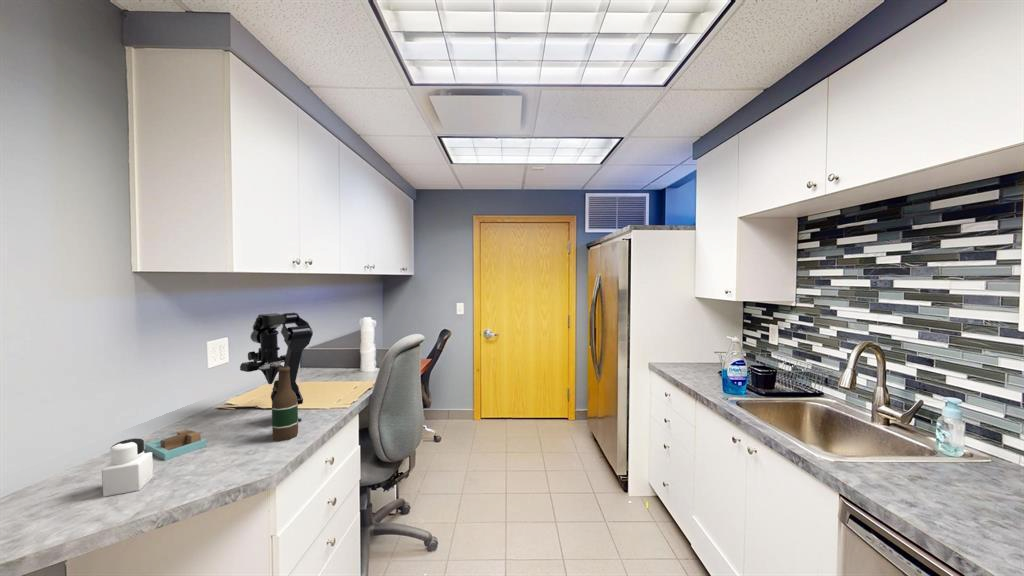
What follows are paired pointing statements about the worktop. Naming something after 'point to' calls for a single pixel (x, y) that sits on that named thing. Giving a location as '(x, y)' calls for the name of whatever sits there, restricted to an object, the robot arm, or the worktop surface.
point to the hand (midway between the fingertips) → (270, 384)
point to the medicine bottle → (127, 468)
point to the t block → (180, 439)
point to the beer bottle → (284, 408)
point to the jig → (168, 454)
